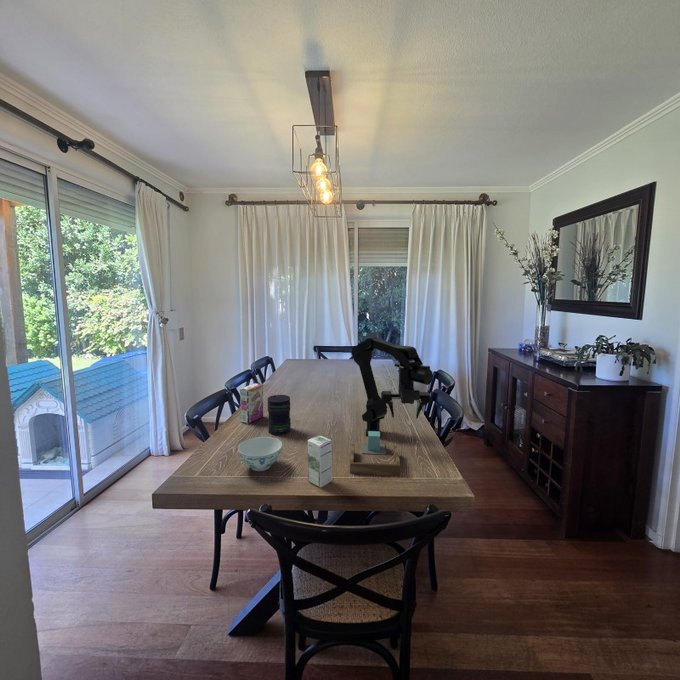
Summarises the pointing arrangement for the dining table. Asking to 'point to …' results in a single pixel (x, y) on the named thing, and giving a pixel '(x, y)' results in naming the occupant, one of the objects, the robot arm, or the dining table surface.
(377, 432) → the teal block
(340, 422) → the dining table surface
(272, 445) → the chinaware
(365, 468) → the walnut crate
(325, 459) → the syrup box
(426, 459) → the dining table surface
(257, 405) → the candy bar box
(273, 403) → the storage jar
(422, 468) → the dining table surface
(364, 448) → the grey rubber mat
